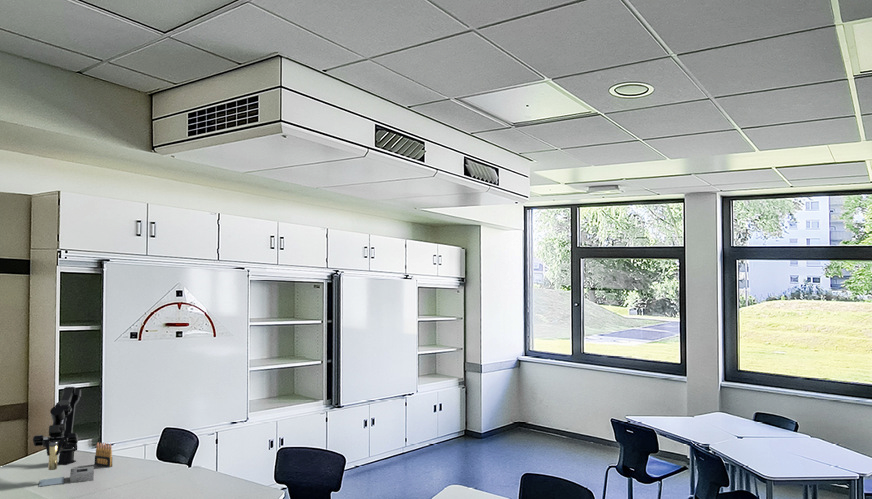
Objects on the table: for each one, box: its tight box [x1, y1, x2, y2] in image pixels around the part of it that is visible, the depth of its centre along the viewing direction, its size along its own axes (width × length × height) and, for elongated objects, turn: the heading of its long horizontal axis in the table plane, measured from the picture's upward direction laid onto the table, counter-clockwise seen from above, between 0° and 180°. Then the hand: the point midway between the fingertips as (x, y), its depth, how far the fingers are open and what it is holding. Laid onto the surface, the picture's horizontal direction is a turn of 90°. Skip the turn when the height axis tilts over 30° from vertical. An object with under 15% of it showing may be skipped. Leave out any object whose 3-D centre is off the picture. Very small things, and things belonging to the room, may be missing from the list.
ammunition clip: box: [93, 441, 113, 468], centre depth 332 cm, size 11×2×12 cm, turn 70°
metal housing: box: [69, 465, 95, 484], centre depth 311 cm, size 10×10×4 cm
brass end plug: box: [47, 441, 59, 471], centre depth 306 cm, size 4×4×13 cm
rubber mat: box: [38, 476, 65, 488], centre depth 305 cm, size 10×10×1 cm
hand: (52, 455), depth 304 cm, fingers closed on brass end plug, 4 cm apart
